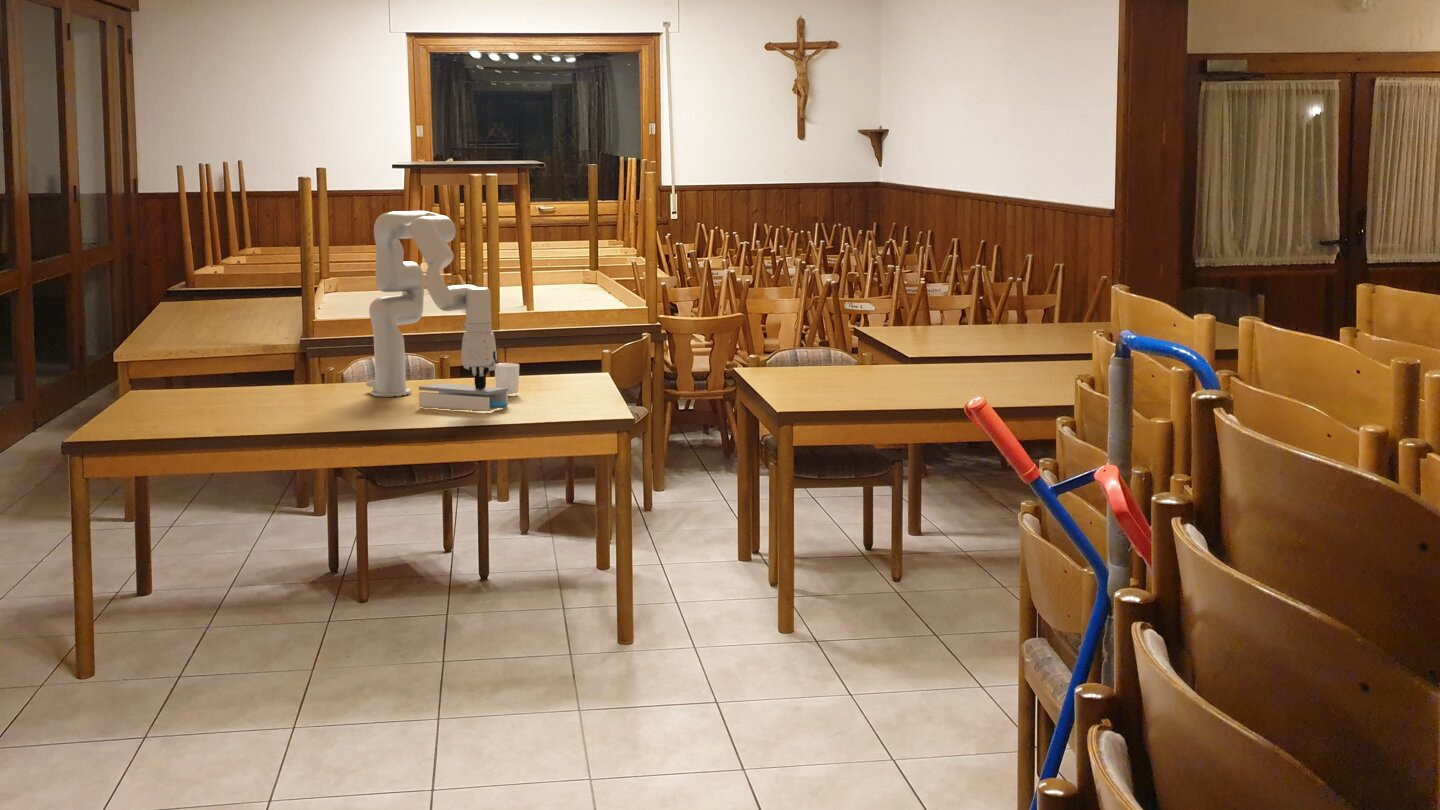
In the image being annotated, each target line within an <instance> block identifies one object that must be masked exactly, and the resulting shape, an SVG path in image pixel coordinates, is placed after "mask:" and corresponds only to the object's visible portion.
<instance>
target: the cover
mask: <svg viewBox="0 0 1440 810" xmlns="http://www.w3.org/2000/svg"><path fill="white" fill-rule="evenodd" d="M418 390H419V391H425V392H426V391H428V392H438V393H439V392H453V393H466V394H480V395H491V394H496V393H502V392H508V388H498V387H496V386H495V387H494V386H485V388H484V389H481V390H480V389H475V385H467V384H465V385H464V384H454V383H436V384H435V383H434V384H428V385H421V386H418Z"/></svg>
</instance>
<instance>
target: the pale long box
mask: <svg viewBox="0 0 1440 810" xmlns="http://www.w3.org/2000/svg"><path fill="white" fill-rule="evenodd" d="M489 400H491V401H504V402H506V403H507V405H508V406H509V397H508V392H502V393H496V394H491V395H480V394H466V393H453V392H439V391H438V392H426V391H425V392H423V391H419V392H418V408H419V407H423V408H438V409H450V410H469V411H470V410H472V411H491V410H494V409H497V407H490V403H489Z"/></svg>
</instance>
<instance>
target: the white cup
mask: <svg viewBox="0 0 1440 810" xmlns="http://www.w3.org/2000/svg"><path fill="white" fill-rule="evenodd" d="M519 379H520V364H519V363H513V362H502V363H496V370H494V380H495V387H498V388H508V394H513V393H517V392H518V393H519V387H520V386H519V383H520V381H519Z"/></svg>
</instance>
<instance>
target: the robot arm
mask: <svg viewBox="0 0 1440 810" xmlns="http://www.w3.org/2000/svg"><path fill="white" fill-rule="evenodd" d="M373 235H374V243H375V247H376V248H375V273H374V274H375V275H374V276H375V286H376V289H378V290H379V292H381V293H401V292H402V294H401V295H400V294H399V295H387V296H380V297H377V298H375V299H374V300H373V301H372V302H370V305H369V310H368V311H369V313H368V314H369V318H370V322H371V327H372V333H373V335H372V336H373V349H374V350H373V351H374V371H375V372H374V374H375V375H374V377H375V379H371V380H370V379H369V380H367V381H366V383H365V385H366V387H370V388H371V387H372V390H370V395H371V396H373V397H381V398H382V397H383V398H390V397H391V398H392V397H394V396H396V397H403V396H402V395H404V396H407V394H408V395H410V394H411V393H412V390H411V388H407V381H406V354H405V353H406V352H405V350H406V349H405V339H404V335H403V333H402V332H401V330H400V329H399V326H402V325H411V324H415V323H417V322H419V321H420V320H421V318H422V316H423V311H424V299H425V298H424V297H425V296H424V295H425V285H426V290H427V291H428V294H429V296H430V297H431V299H432V301H433V302H434V304H435V306H436V307H437V308H438V309H439V310H442V311H443V312H453V311H455V312H456V311H465V323H463V324H462V328H463V329H465V331H466V332H463V336H462V342H461V350H460V351H461V358H460V359H461V364H462V365H463V368H464V369H466V370H469V371H470V372H471V374H472V376H473V377H474V386H475V389H480V390H481V389H484V388H485V387H487V375H488V373H489V372H492V371H495V370H496V364H498V363H497V362H498V356H497V355H498V352H497V345H496V338H495V335H494V332H492V330H493V328H492V296H491V295H492V294H491V293H492V292H491V290H490V289H489V288H488V287H483V286H476V285H474V284H456V285H446V283H445V282H444V280H443V278H442V276H441V272H440V271H442V270H444V269H445V268H447V267H448V266H449V265H450V264H451V263H452V262H453V259H454V257H455V256H454V252H453V250H452V248H451V247H450V245H449V242H452V241H453V240H454V239H455V238H456V226H455V223H454V222H453V220H452V219H451V218H449V216H446V215H442V214H440V213H439V214H438V213H435V212H430V211H425V210H406V211H404V210H400V211H389V212H385V213H382V214H380V215H379V216H378V217H377V218H376V219H375V222H374V226H373ZM401 239H402V240H403V239H413V241H414V243H415V245H416V247H417V248H418V250H419V252H420V254H421V256H422V257H423V259H424V261H425V262H426V264H427V269H426V272H425V273H426V274H425V275H424V272H423V269H422V267H421V265H419V264H418V263H417V262H415V261H409V260H408V261H407V260H406V261H404V256H405V255H404V254H405V251H404V247H403V245H402V243H401V241H400V240H401ZM394 398H395V397H394Z"/></svg>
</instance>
